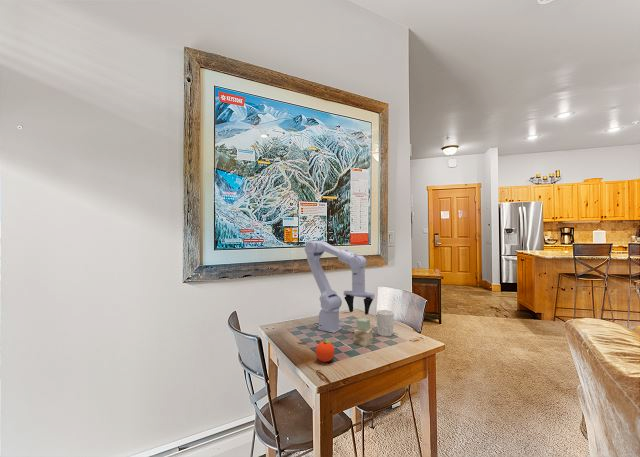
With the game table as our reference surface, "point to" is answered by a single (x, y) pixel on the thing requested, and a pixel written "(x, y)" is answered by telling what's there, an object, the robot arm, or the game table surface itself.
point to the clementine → (325, 351)
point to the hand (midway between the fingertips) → (358, 312)
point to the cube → (363, 324)
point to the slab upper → (363, 334)
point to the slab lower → (363, 341)
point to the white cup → (385, 322)
